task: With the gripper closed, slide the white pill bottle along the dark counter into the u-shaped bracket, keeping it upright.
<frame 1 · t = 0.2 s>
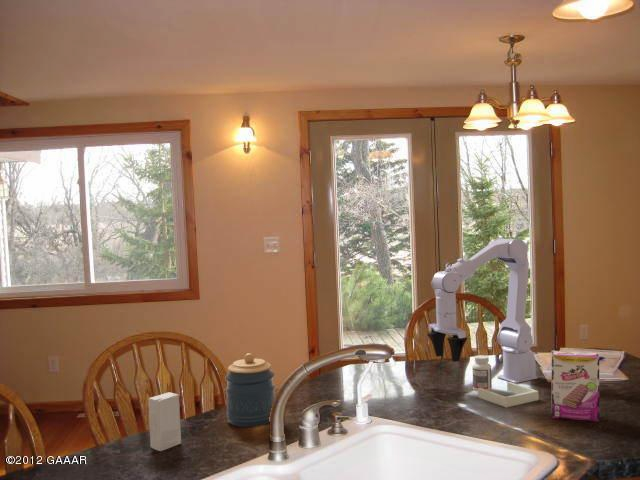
hand: (447, 358, 179), 10 cm above the kitchen counter, fingers open, 7 cm apart
skincare box: (166, 447, 144), on the kitchen counter
u-shaped bracket: (506, 398, 171), on the kitchen counter
canister: (251, 420, 161), on the kitchen counter
candy bar box: (575, 418, 154), on the kitchen counter
pill bottle: (482, 390, 180), on the kitchen counter
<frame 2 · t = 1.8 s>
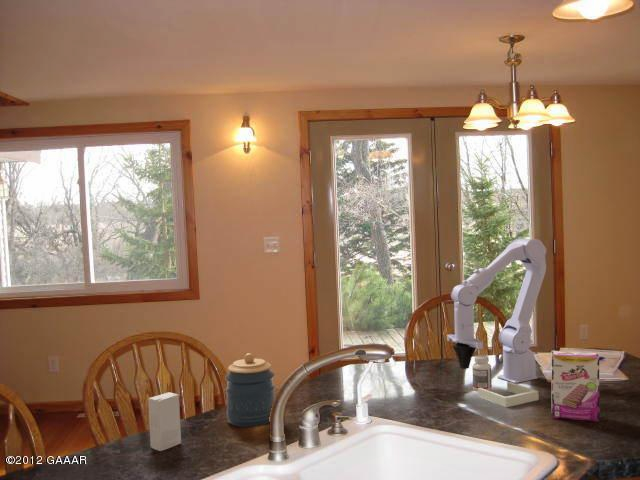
hand: (464, 368, 187), 5 cm above the kitchen counter, fingers closed
nothing on the kitchen counter moved.
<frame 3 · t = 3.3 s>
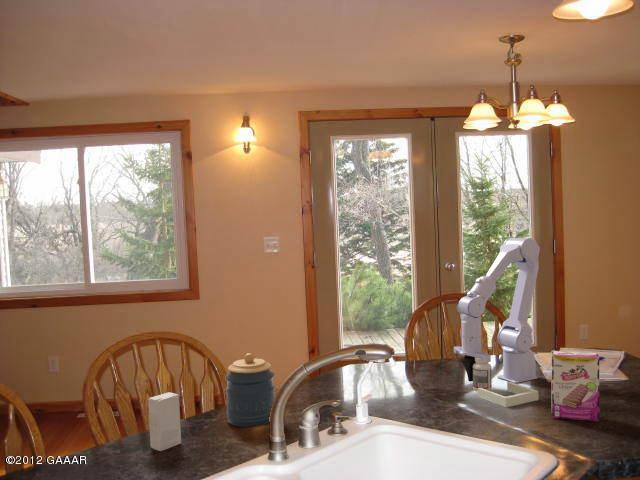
hand: (472, 381, 184), 2 cm above the kitchen counter, fingers closed, pressing on pill bottle
pill bottle: (482, 389, 180), on the kitchen counter, touching gripper
everything else where it was.
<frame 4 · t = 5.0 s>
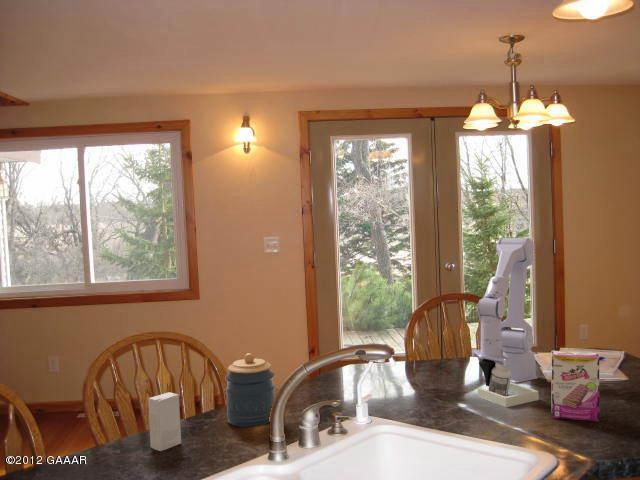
hand: (490, 386, 175), 2 cm above the kitchen counter, fingers closed, pressing on pill bottle
pill bottle: (497, 394, 174), on the kitchen counter, touching gripper
everything else where it was.
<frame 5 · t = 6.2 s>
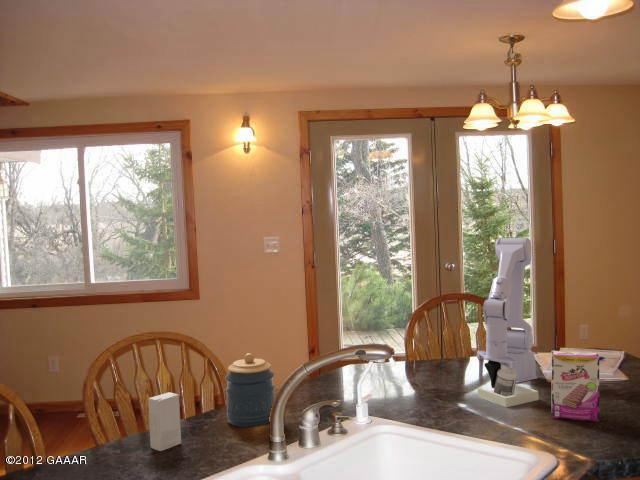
hand: (496, 387, 174), 2 cm above the kitchen counter, fingers closed, pressing on pill bottle
pill bottle: (502, 396, 172), on the kitchen counter, touching gripper
everything else where it was.
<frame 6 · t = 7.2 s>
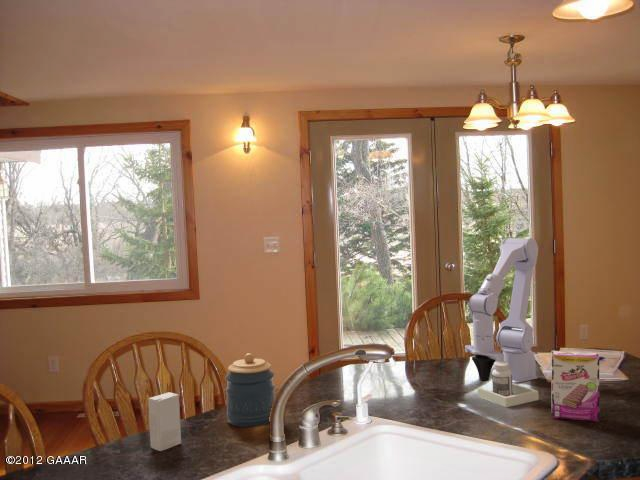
hand: (484, 380, 179), 3 cm above the kitchen counter, fingers closed
pill bottle: (502, 396, 172), on the kitchen counter
everything else where it was.
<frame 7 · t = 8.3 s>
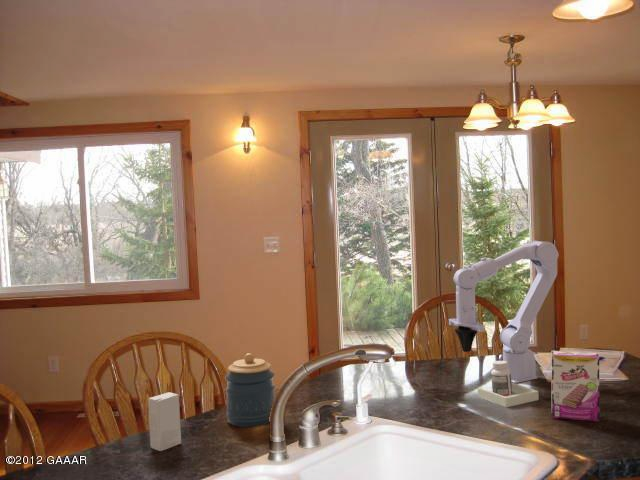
hand: (466, 351, 189), 9 cm above the kitchen counter, fingers closed
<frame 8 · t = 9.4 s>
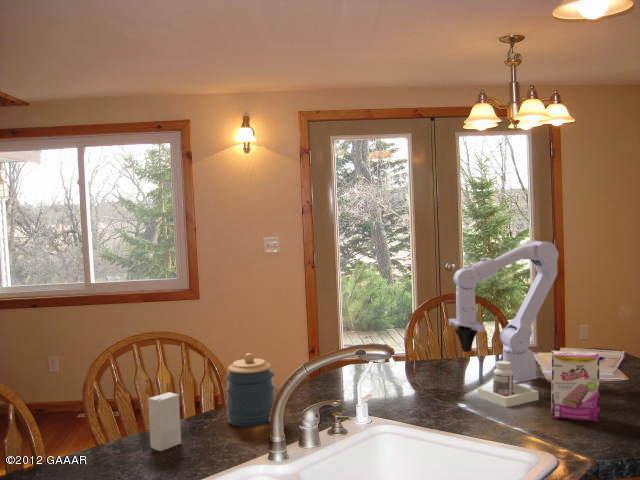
hand: (466, 351, 189), 9 cm above the kitchen counter, fingers closed
at the end: pill bottle 1.3 cm off-centre on the u-shaped bracket, point 0.0 cm above the u-shaped bracket's base; pill bottle tilted 3°; pill bottle moved 8.7 cm from its start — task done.
